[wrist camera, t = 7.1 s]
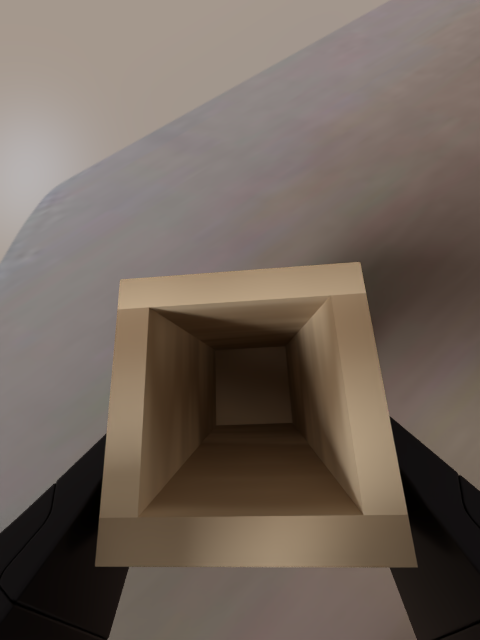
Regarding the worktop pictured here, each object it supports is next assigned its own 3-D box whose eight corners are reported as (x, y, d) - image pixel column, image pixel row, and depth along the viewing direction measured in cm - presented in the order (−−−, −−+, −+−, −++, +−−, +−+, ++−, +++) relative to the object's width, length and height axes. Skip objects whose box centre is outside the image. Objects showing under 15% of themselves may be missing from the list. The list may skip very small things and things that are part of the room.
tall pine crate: (305, 434, 14) (418, 567, 4) (206, 437, 14) (94, 566, 4) (295, 335, 15) (360, 262, 6) (205, 340, 16) (120, 279, 6)
